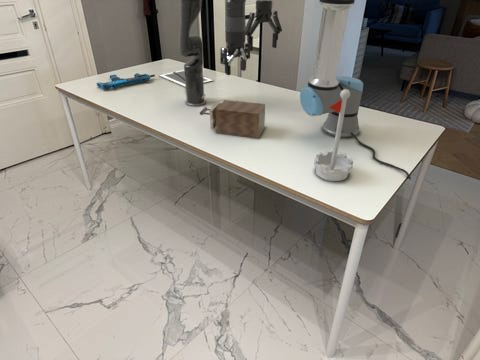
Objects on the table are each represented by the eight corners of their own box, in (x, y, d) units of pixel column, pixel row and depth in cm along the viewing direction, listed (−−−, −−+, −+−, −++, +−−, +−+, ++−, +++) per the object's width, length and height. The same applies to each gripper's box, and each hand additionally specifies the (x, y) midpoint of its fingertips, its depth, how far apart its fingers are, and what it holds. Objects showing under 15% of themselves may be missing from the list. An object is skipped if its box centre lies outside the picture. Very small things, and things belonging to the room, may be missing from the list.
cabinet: (216, 133, 148) (215, 109, 142) (225, 122, 157) (224, 99, 151) (258, 138, 144) (259, 113, 138) (264, 127, 153) (265, 103, 147)
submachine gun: (140, 68, 226) (159, 74, 209) (142, 73, 228) (160, 80, 211) (89, 77, 207) (104, 85, 190) (90, 84, 209) (106, 92, 192)
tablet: (159, 75, 221) (159, 75, 220) (185, 70, 232) (185, 69, 231) (186, 87, 200) (186, 86, 200) (213, 80, 211) (213, 80, 211)
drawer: (198, 128, 150) (196, 108, 145) (207, 119, 159) (205, 100, 154) (248, 134, 145) (249, 114, 140) (255, 124, 153) (255, 105, 148)
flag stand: (336, 160, 127) (350, 81, 111) (358, 178, 117) (377, 93, 101) (306, 167, 123) (316, 85, 107) (326, 186, 113) (340, 99, 97)
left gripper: (241, 25, 134) (241, 67, 143) (214, 30, 125) (216, 74, 134) (255, 27, 129) (254, 70, 138) (228, 33, 121) (229, 78, 130)
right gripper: (282, -3, 161) (279, 44, 173) (236, 0, 151) (236, 50, 163) (291, -1, 156) (288, 47, 167) (244, 2, 146) (244, 53, 157)
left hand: (235, 72), depth 136 cm, fingers open, 8 cm apart
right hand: (262, 49), depth 165 cm, fingers open, 13 cm apart
